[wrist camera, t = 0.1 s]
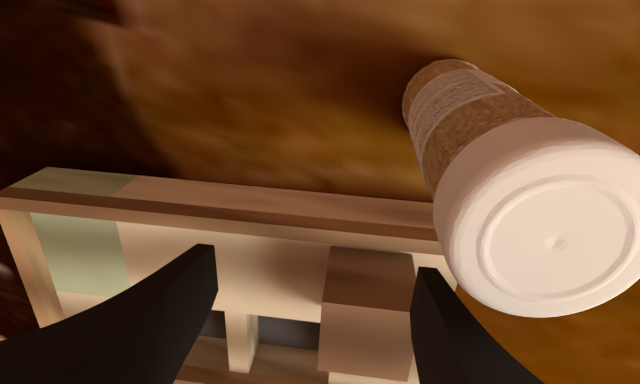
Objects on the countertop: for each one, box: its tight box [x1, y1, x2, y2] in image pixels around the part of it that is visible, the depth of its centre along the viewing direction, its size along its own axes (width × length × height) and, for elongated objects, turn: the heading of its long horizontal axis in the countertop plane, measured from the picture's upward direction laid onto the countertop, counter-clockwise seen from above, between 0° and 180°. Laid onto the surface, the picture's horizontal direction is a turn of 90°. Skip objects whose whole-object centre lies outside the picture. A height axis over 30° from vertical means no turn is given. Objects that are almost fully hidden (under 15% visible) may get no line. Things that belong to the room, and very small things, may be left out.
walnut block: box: [317, 246, 416, 382], centre depth 20 cm, size 4×4×4 cm
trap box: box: [0, 167, 457, 384], centre depth 25 cm, size 14×26×4 cm, turn 87°
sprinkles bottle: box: [402, 59, 640, 317], centre depth 14 cm, size 5×5×14 cm
